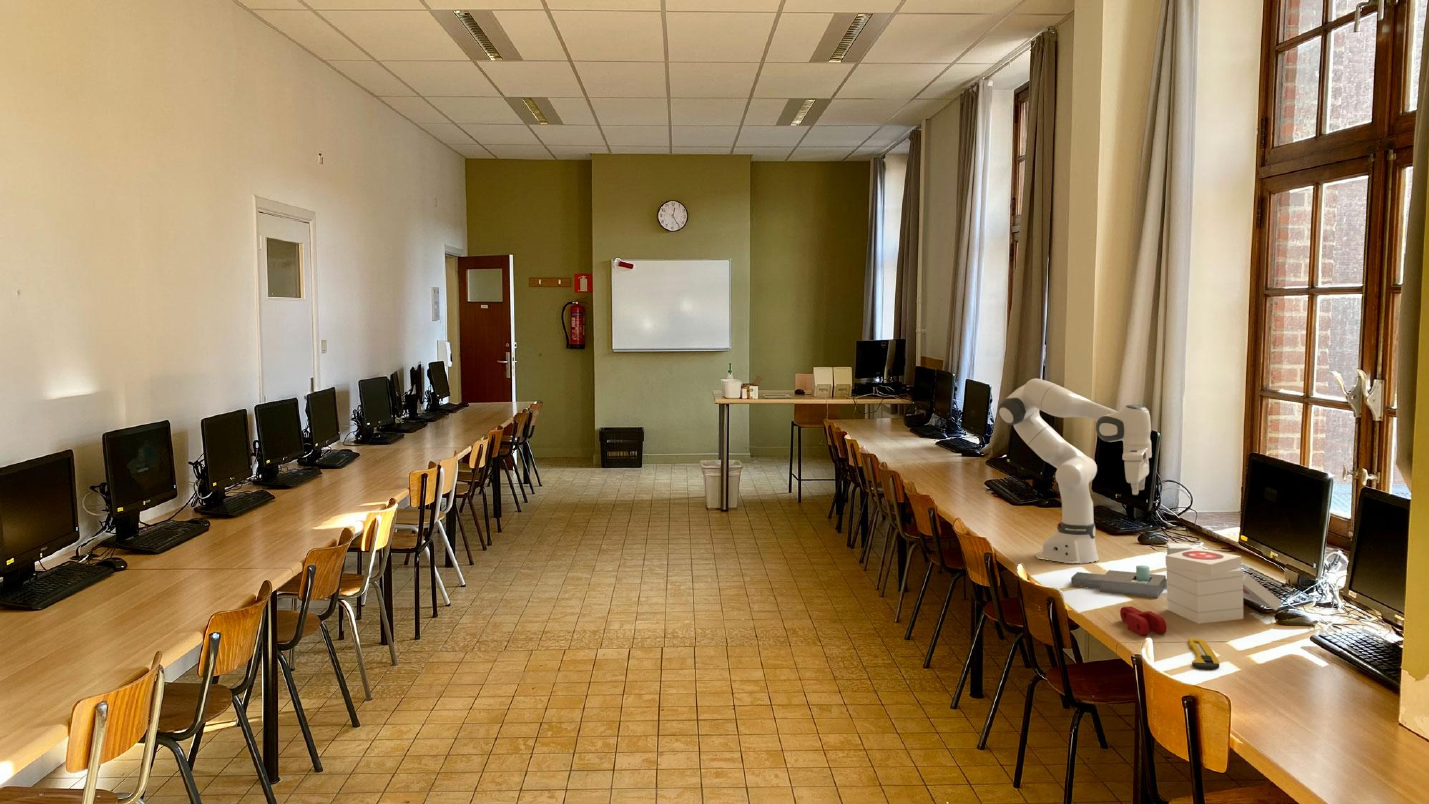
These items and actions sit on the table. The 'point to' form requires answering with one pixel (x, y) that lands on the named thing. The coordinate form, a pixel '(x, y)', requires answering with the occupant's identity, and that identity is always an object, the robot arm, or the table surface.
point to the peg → (1142, 573)
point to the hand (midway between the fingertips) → (1138, 492)
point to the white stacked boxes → (1211, 586)
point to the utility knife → (1203, 655)
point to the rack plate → (1121, 583)
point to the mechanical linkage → (1142, 621)
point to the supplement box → (1177, 547)
